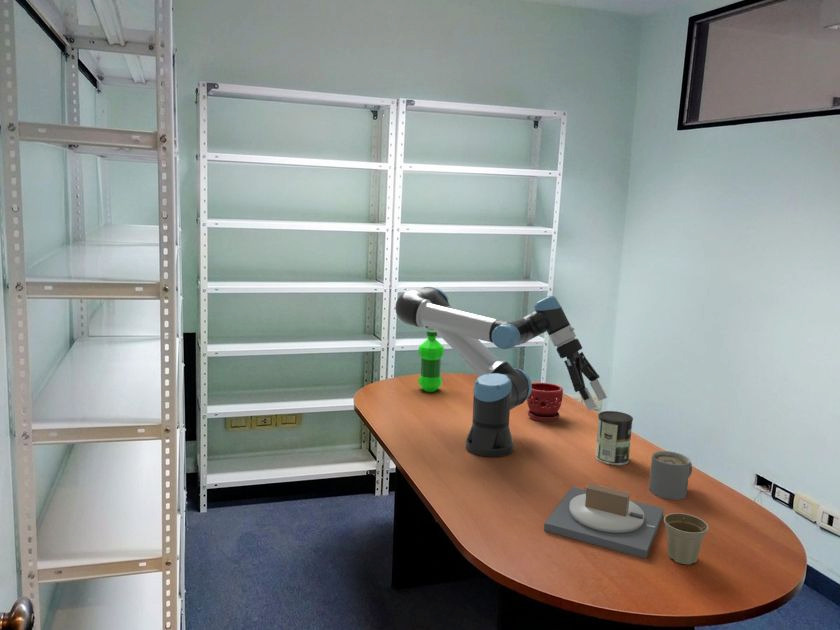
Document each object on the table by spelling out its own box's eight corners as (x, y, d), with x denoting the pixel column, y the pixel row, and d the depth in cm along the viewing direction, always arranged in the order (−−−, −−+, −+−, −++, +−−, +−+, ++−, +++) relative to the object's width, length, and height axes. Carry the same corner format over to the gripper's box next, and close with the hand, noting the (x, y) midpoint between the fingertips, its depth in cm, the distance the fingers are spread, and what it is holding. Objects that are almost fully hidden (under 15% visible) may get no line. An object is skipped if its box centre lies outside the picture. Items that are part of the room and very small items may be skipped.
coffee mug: (663, 501, 177) (667, 466, 175) (641, 485, 186) (644, 452, 185) (704, 496, 181) (708, 462, 179) (680, 481, 190) (684, 448, 189)
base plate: (543, 530, 160) (544, 521, 159) (571, 493, 180) (572, 485, 180) (646, 558, 148) (647, 549, 148) (663, 515, 169) (663, 507, 169)
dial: (560, 520, 160) (562, 495, 159) (579, 492, 176) (581, 469, 175) (636, 540, 152) (638, 514, 151) (649, 509, 167) (652, 485, 166)
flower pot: (653, 547, 154) (656, 512, 152) (691, 546, 154) (695, 512, 153) (671, 569, 144) (675, 533, 143) (712, 568, 145) (716, 532, 144)
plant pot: (568, 419, 241) (570, 388, 238) (542, 425, 233) (544, 393, 231) (543, 409, 251) (545, 379, 249) (517, 415, 244) (519, 384, 242)
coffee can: (627, 454, 209) (631, 412, 207) (630, 467, 199) (634, 423, 197) (593, 451, 211) (597, 409, 209) (595, 463, 201) (599, 419, 199)
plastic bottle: (434, 395, 265) (436, 334, 261) (412, 390, 271) (414, 331, 266) (447, 389, 273) (449, 331, 269) (425, 385, 279) (427, 327, 275)
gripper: (565, 342, 193) (599, 408, 190) (586, 332, 215) (617, 391, 212) (543, 353, 197) (576, 417, 194) (566, 342, 219) (596, 400, 216)
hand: (598, 404), depth 203 cm, fingers open, 13 cm apart
